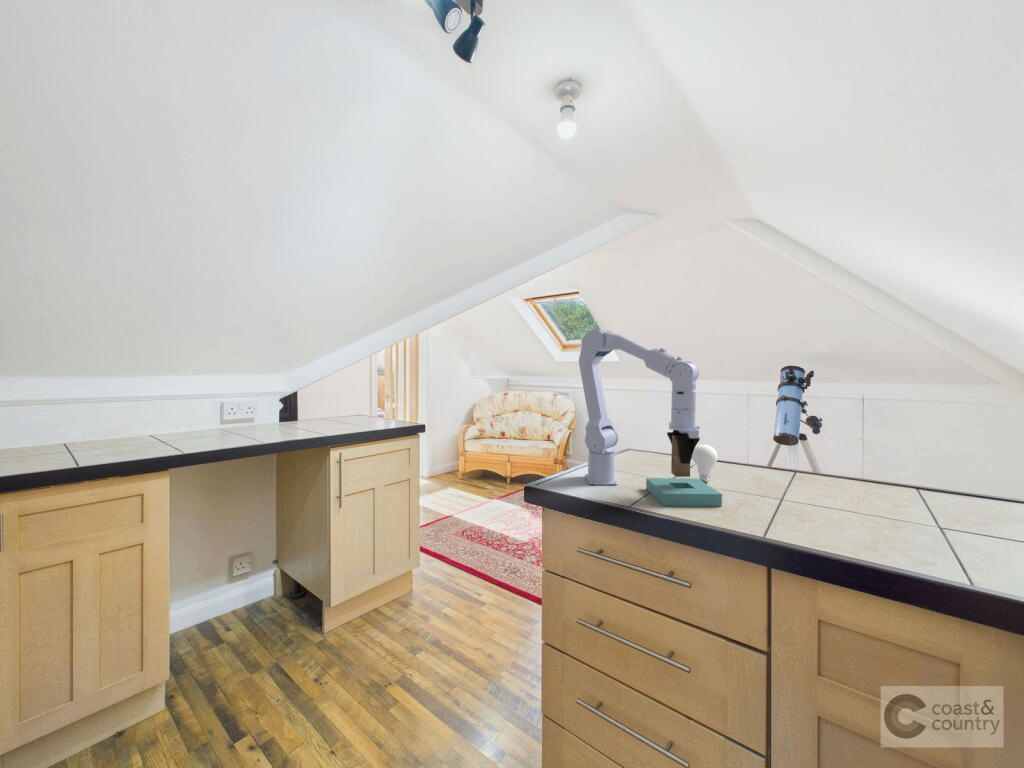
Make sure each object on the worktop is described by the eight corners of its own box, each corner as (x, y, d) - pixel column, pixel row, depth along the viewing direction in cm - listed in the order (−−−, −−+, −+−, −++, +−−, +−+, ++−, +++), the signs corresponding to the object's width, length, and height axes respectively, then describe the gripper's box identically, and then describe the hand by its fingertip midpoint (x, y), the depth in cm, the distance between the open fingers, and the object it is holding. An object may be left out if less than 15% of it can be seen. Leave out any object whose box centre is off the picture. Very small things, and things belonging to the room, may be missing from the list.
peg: (671, 473, 110) (671, 435, 110) (684, 473, 110) (685, 435, 110) (676, 476, 107) (677, 437, 106) (690, 476, 107) (690, 437, 106)
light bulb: (711, 479, 125) (712, 442, 125) (720, 485, 119) (721, 447, 118) (688, 478, 126) (689, 442, 125) (696, 485, 119) (697, 446, 119)
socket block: (646, 488, 116) (646, 478, 116) (697, 489, 115) (697, 478, 115) (663, 505, 102) (663, 493, 102) (721, 506, 101) (722, 494, 101)
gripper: (712, 412, 100) (710, 468, 101) (687, 406, 115) (686, 455, 115) (682, 412, 100) (681, 468, 101) (661, 406, 115) (660, 455, 115)
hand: (682, 461), depth 108 cm, fingers closed on peg, 3 cm apart
